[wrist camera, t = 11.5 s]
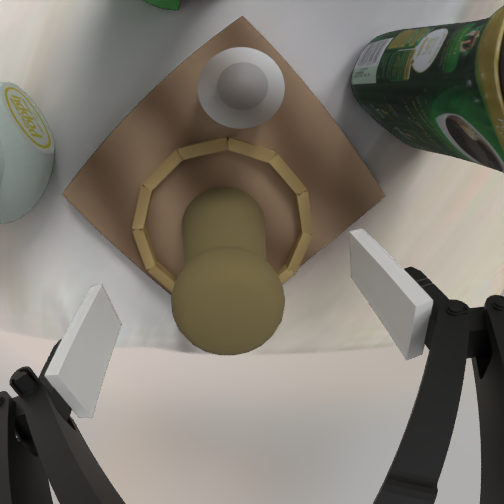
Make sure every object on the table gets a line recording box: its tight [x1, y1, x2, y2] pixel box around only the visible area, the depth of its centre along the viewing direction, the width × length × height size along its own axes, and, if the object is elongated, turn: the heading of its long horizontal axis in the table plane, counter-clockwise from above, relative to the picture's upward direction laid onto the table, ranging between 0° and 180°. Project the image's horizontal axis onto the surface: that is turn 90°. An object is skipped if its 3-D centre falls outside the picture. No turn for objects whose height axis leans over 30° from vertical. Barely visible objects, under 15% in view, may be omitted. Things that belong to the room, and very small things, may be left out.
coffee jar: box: [352, 6, 504, 173], centre depth 12 cm, size 10×8×19 cm
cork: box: [171, 187, 285, 355], centre depth 18 cm, size 6×6×11 cm
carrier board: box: [62, 16, 385, 295], centre depth 20 cm, size 18×17×8 cm
